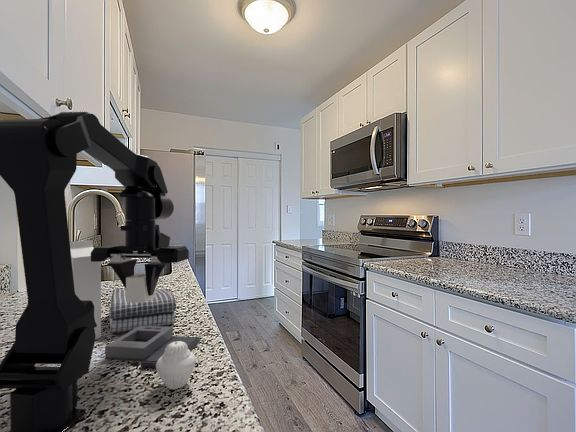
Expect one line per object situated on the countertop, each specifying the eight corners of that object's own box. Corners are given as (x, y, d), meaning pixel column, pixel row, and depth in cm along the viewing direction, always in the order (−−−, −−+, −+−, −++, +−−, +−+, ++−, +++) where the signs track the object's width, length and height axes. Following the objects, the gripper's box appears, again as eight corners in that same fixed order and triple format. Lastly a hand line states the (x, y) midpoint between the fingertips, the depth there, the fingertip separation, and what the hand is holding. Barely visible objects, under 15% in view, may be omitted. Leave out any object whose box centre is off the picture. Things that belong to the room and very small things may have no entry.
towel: (109, 338, 69) (108, 304, 69) (108, 315, 85) (108, 287, 85) (178, 325, 77) (178, 294, 77) (166, 307, 93) (166, 281, 92)
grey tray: (144, 360, 58) (143, 347, 58) (105, 358, 58) (105, 345, 58) (172, 337, 68) (172, 326, 68) (139, 336, 69) (139, 325, 69)
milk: (57, 343, 66) (55, 241, 66) (85, 333, 71) (84, 239, 71) (73, 348, 63) (72, 242, 63) (102, 337, 69) (100, 240, 69)
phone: (172, 369, 54) (172, 363, 54) (141, 367, 55) (141, 361, 55) (199, 341, 66) (199, 336, 66) (173, 340, 67) (173, 335, 67)
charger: (144, 302, 61) (144, 277, 61) (126, 302, 62) (125, 277, 62) (155, 297, 65) (155, 273, 65) (138, 296, 66) (137, 273, 66)
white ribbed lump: (192, 370, 54) (192, 331, 54) (199, 388, 48) (199, 344, 48) (154, 380, 51) (154, 338, 51) (157, 399, 45) (157, 353, 45)
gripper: (199, 219, 70) (199, 286, 70) (124, 219, 72) (124, 284, 72) (175, 220, 59) (176, 300, 59) (88, 220, 61) (88, 297, 61)
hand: (141, 294), depth 63 cm, fingers closed on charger, 4 cm apart
